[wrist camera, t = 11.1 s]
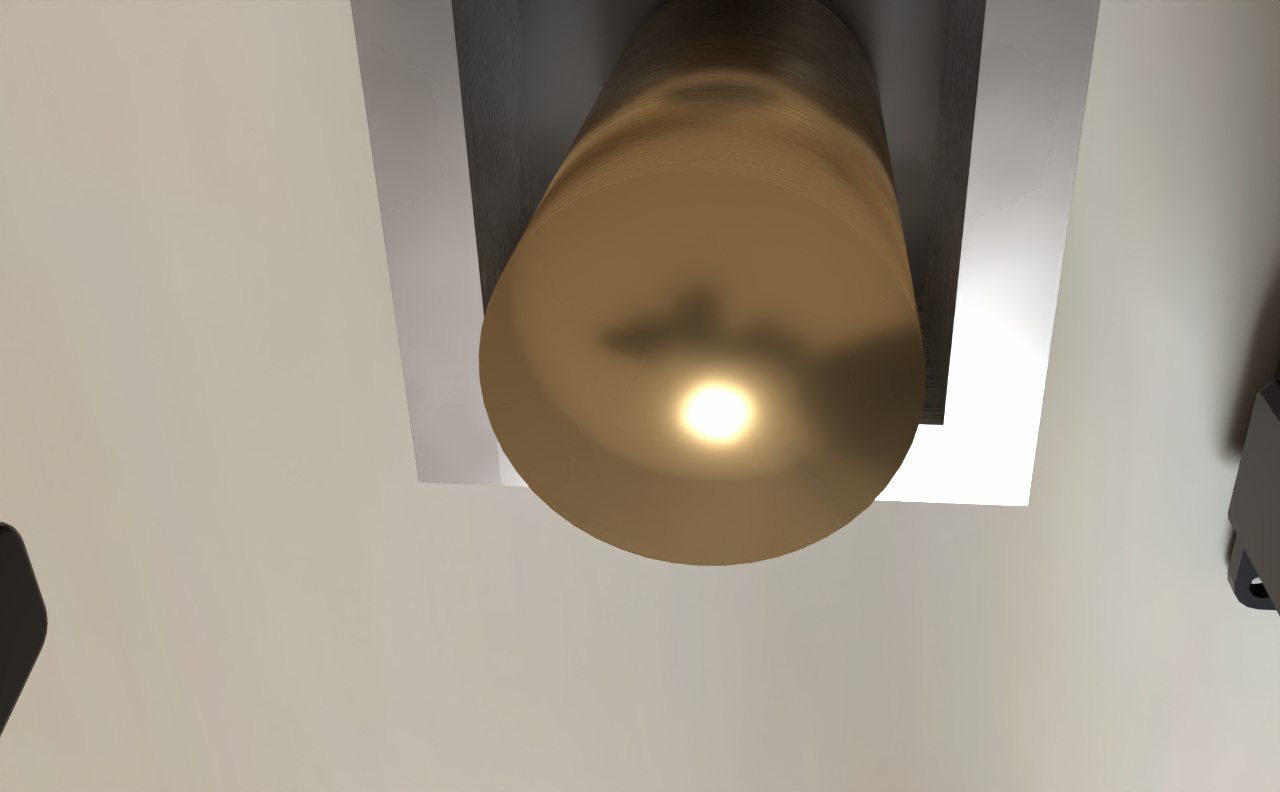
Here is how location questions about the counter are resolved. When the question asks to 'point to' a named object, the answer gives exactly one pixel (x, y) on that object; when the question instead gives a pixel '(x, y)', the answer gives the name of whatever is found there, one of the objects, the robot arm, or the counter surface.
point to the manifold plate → (922, 168)
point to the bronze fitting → (714, 296)
